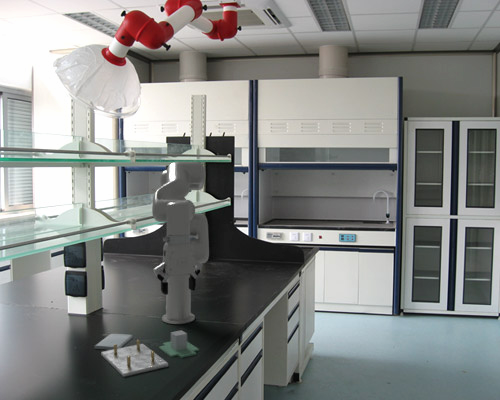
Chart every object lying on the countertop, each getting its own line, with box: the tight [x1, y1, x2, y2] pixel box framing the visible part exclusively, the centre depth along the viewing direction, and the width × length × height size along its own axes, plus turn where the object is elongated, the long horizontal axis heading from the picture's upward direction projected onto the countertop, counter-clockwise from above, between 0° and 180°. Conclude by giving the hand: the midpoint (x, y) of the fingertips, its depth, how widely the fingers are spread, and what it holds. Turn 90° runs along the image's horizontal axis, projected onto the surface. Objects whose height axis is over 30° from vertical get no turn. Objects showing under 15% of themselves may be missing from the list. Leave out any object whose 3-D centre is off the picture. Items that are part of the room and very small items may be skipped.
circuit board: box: [158, 330, 200, 359], centre depth 172 cm, size 14×10×6 cm
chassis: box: [100, 339, 169, 378], centre depth 162 cm, size 20×14×4 cm
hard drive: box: [93, 333, 133, 351], centre depth 178 cm, size 2×8×12 cm
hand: (178, 291), depth 170 cm, fingers open, 9 cm apart
